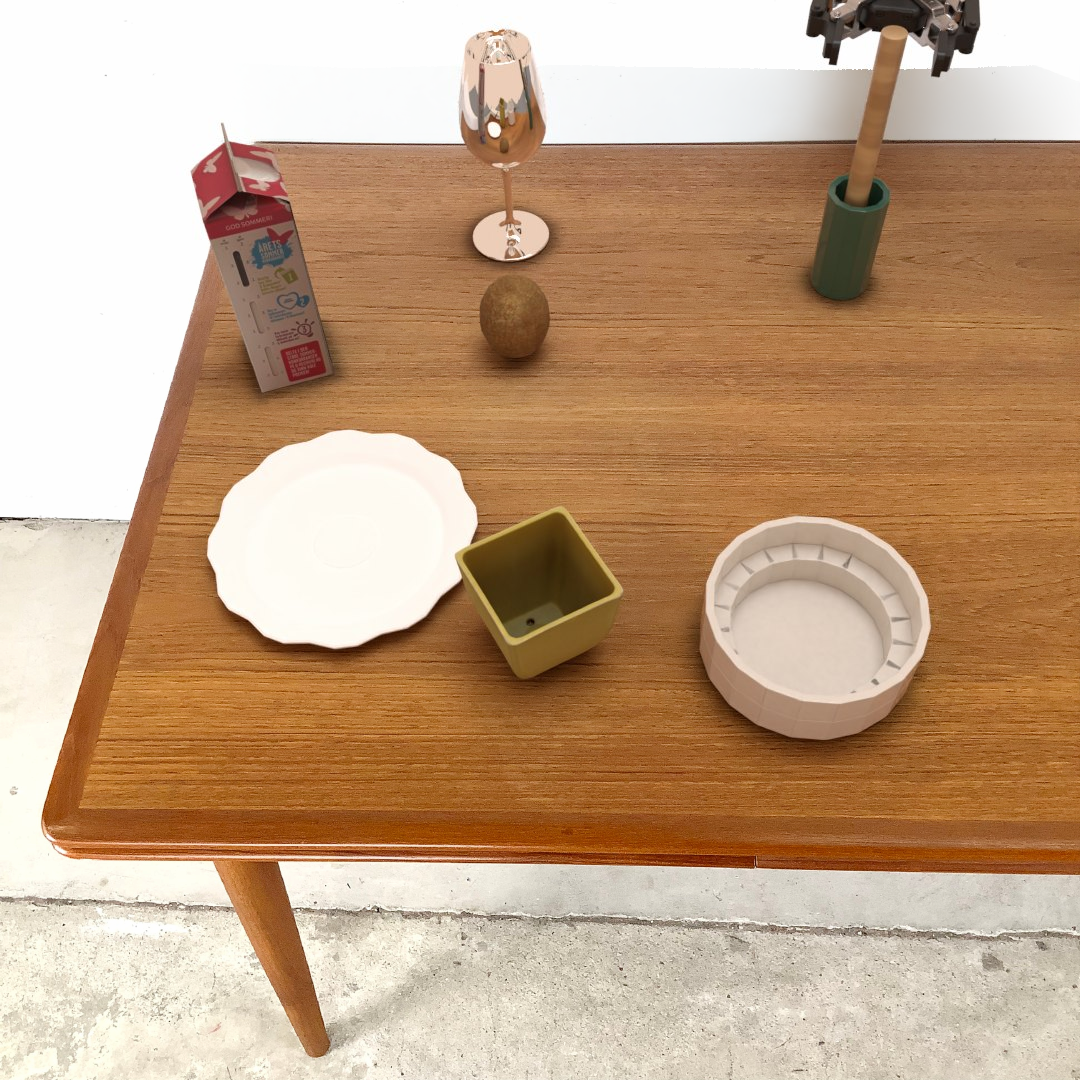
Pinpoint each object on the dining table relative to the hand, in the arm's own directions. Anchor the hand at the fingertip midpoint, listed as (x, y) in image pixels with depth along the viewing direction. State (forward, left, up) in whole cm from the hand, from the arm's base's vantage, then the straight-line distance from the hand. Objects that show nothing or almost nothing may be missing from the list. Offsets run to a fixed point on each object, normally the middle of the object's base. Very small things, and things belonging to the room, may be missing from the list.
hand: (886, 61), depth 94 cm
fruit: (+32, -14, -18) cm, 39 cm away
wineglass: (+21, -25, -18) cm, 37 cm away
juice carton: (+46, -29, -18) cm, 57 cm away
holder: (+6, +3, -18) cm, 19 cm away
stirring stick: (+6, +3, -18) cm, 19 cm away
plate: (+57, -10, -18) cm, 60 cm away
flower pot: (+53, +8, -18) cm, 57 cm away
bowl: (+41, +23, -18) cm, 50 cm away
